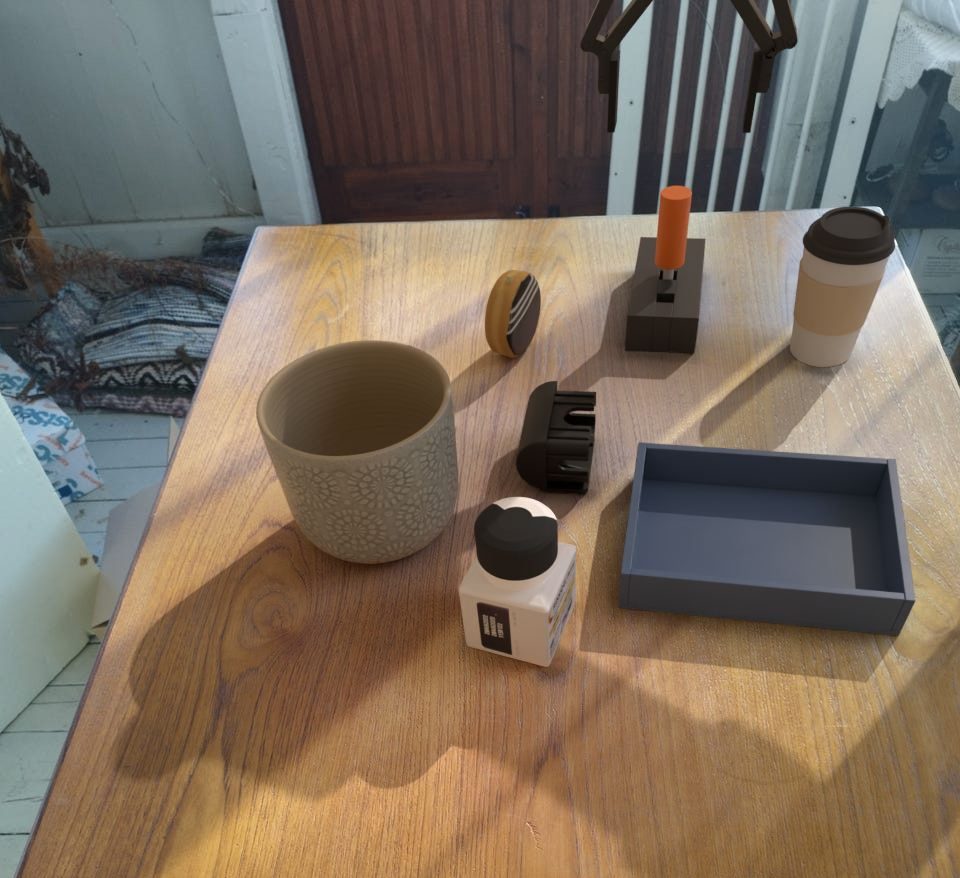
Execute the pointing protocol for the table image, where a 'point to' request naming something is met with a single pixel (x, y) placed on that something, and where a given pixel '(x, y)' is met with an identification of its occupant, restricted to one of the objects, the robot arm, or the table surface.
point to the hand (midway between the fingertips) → (678, 127)
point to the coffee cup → (838, 282)
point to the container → (518, 582)
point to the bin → (768, 538)
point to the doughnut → (512, 313)
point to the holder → (665, 301)
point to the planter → (364, 447)
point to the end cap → (557, 440)
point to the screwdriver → (672, 229)
